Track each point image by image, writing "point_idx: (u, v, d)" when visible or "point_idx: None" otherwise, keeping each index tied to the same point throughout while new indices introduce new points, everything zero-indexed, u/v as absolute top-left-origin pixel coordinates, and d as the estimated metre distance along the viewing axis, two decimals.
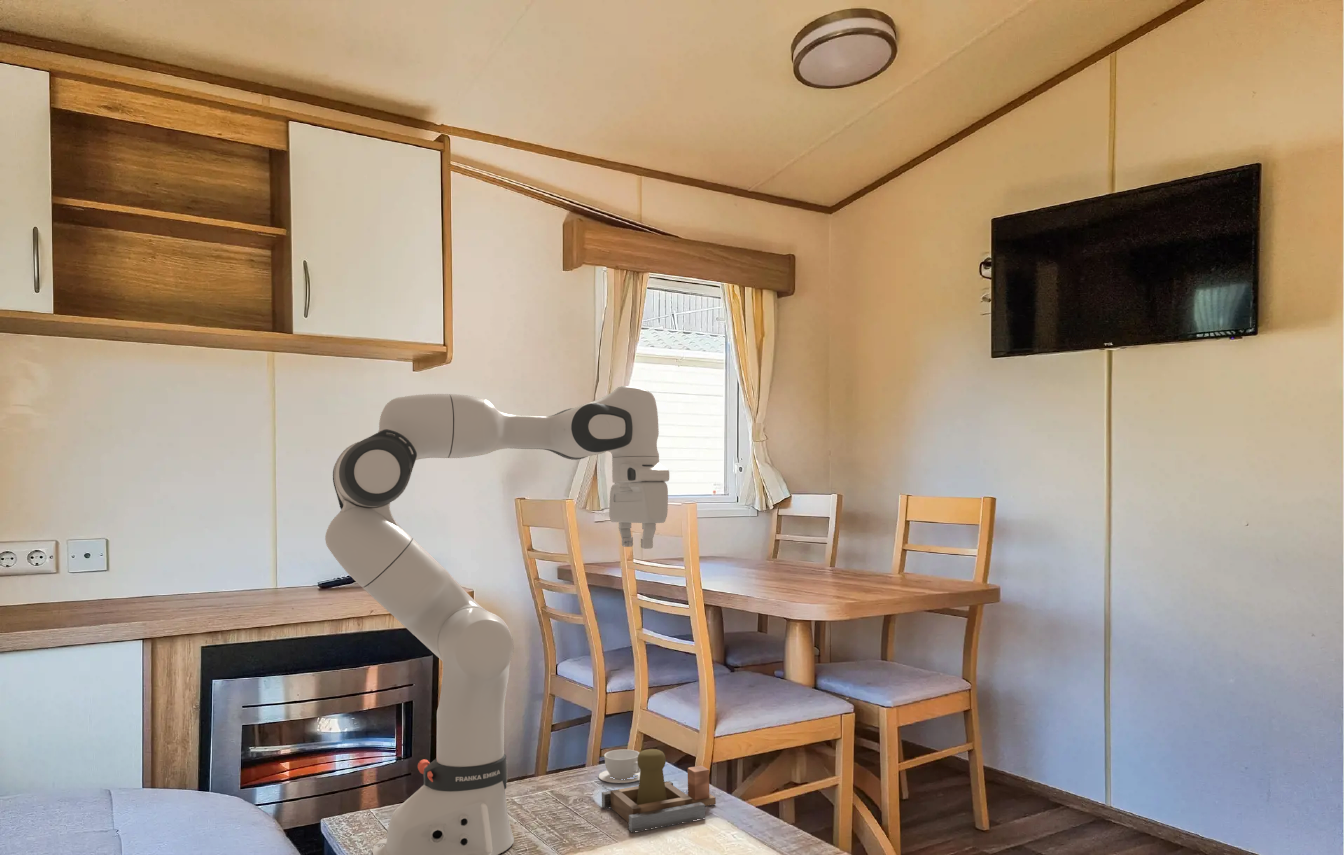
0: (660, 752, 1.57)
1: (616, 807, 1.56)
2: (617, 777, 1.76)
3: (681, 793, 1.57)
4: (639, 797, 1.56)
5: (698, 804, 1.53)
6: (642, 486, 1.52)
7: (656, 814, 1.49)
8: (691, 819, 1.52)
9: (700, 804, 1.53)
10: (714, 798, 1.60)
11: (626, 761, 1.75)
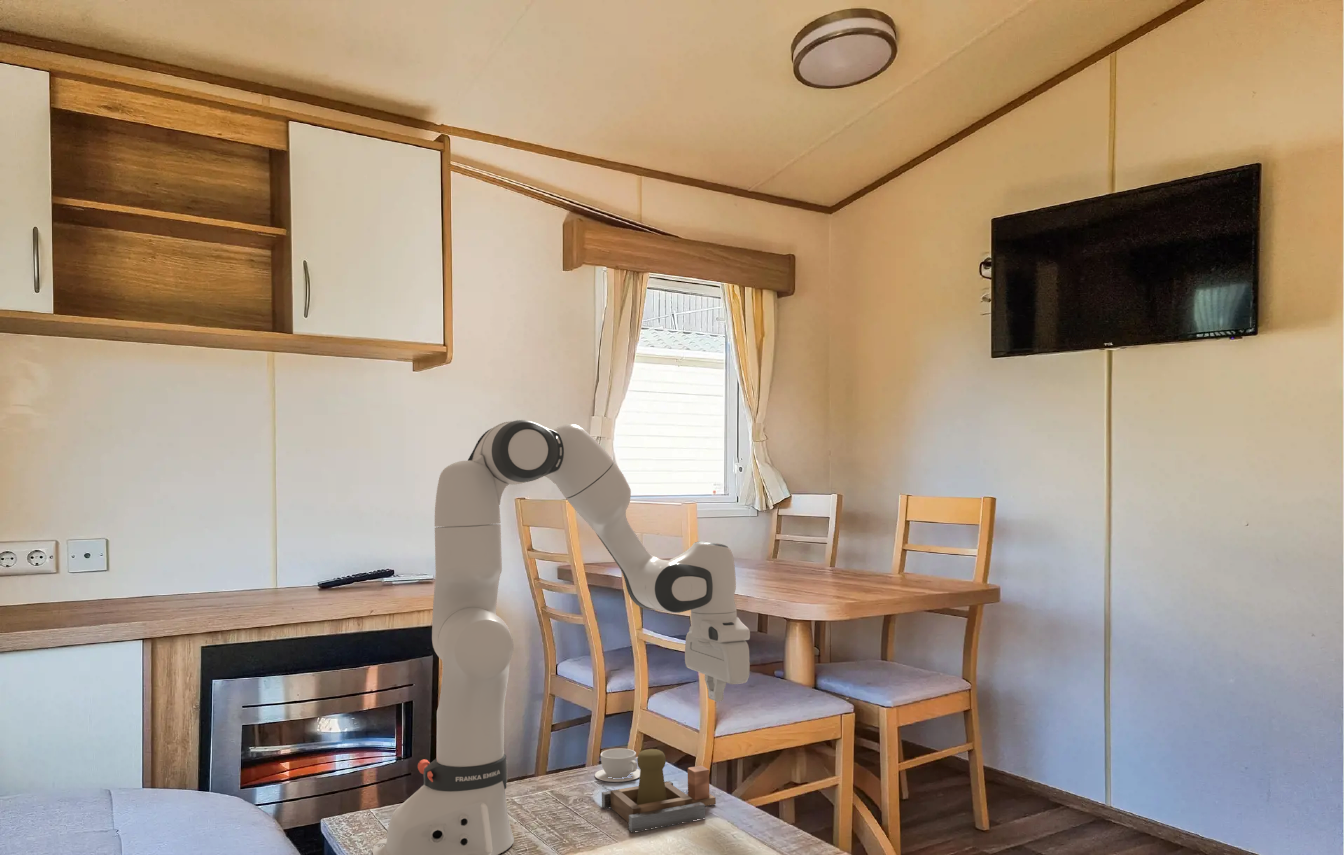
0: (660, 752, 1.57)
1: (616, 807, 1.56)
2: (613, 776, 1.77)
3: (681, 793, 1.57)
4: (639, 797, 1.56)
5: (698, 804, 1.53)
6: (724, 647, 1.56)
7: (656, 814, 1.49)
8: (691, 819, 1.52)
9: (700, 804, 1.53)
10: (714, 798, 1.60)
11: (622, 760, 1.76)
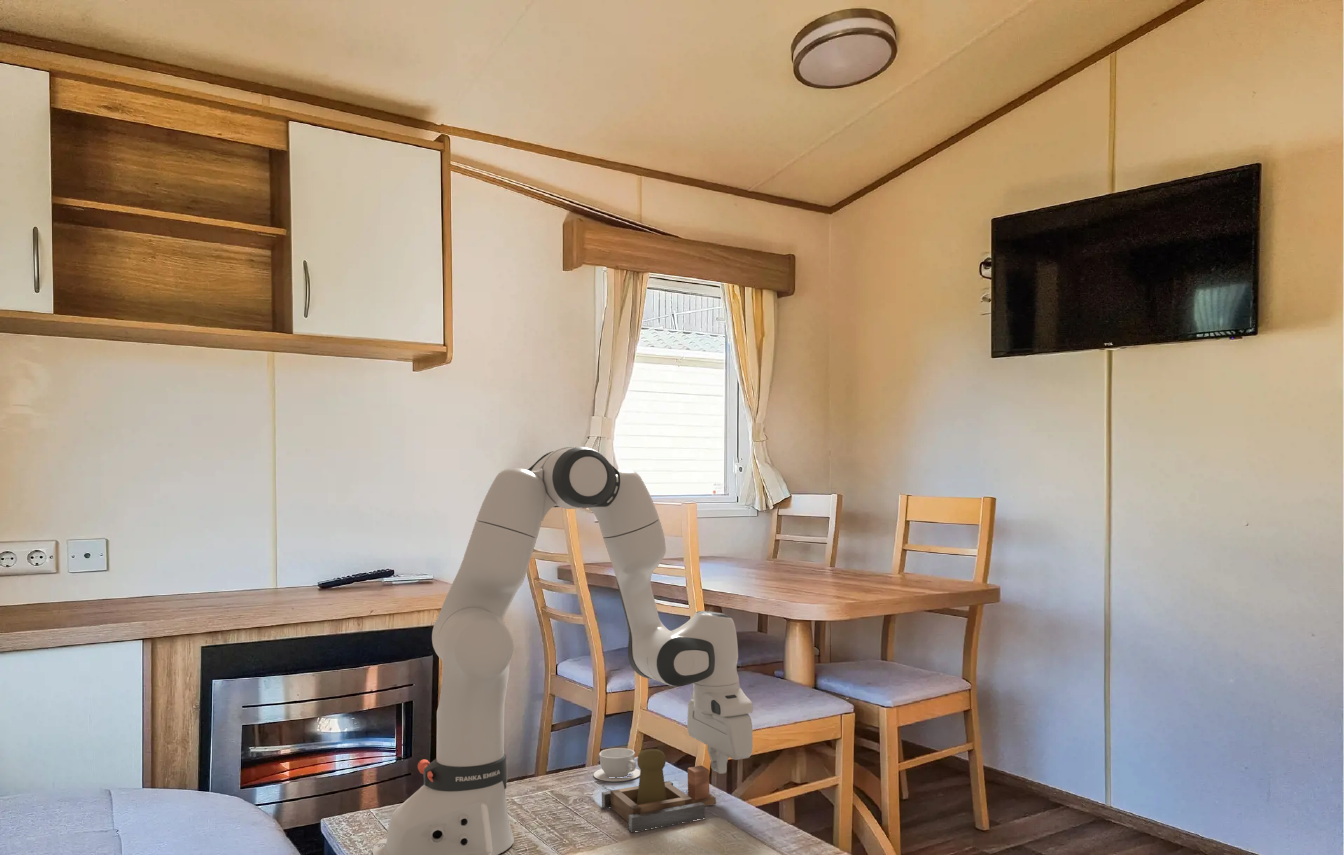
0: (660, 752, 1.57)
1: (616, 807, 1.56)
2: (612, 775, 1.77)
3: (681, 793, 1.57)
4: (639, 797, 1.56)
5: (698, 804, 1.53)
6: (727, 722, 1.55)
7: (656, 814, 1.49)
8: (691, 819, 1.52)
9: (700, 804, 1.53)
10: (714, 798, 1.60)
11: (621, 760, 1.76)
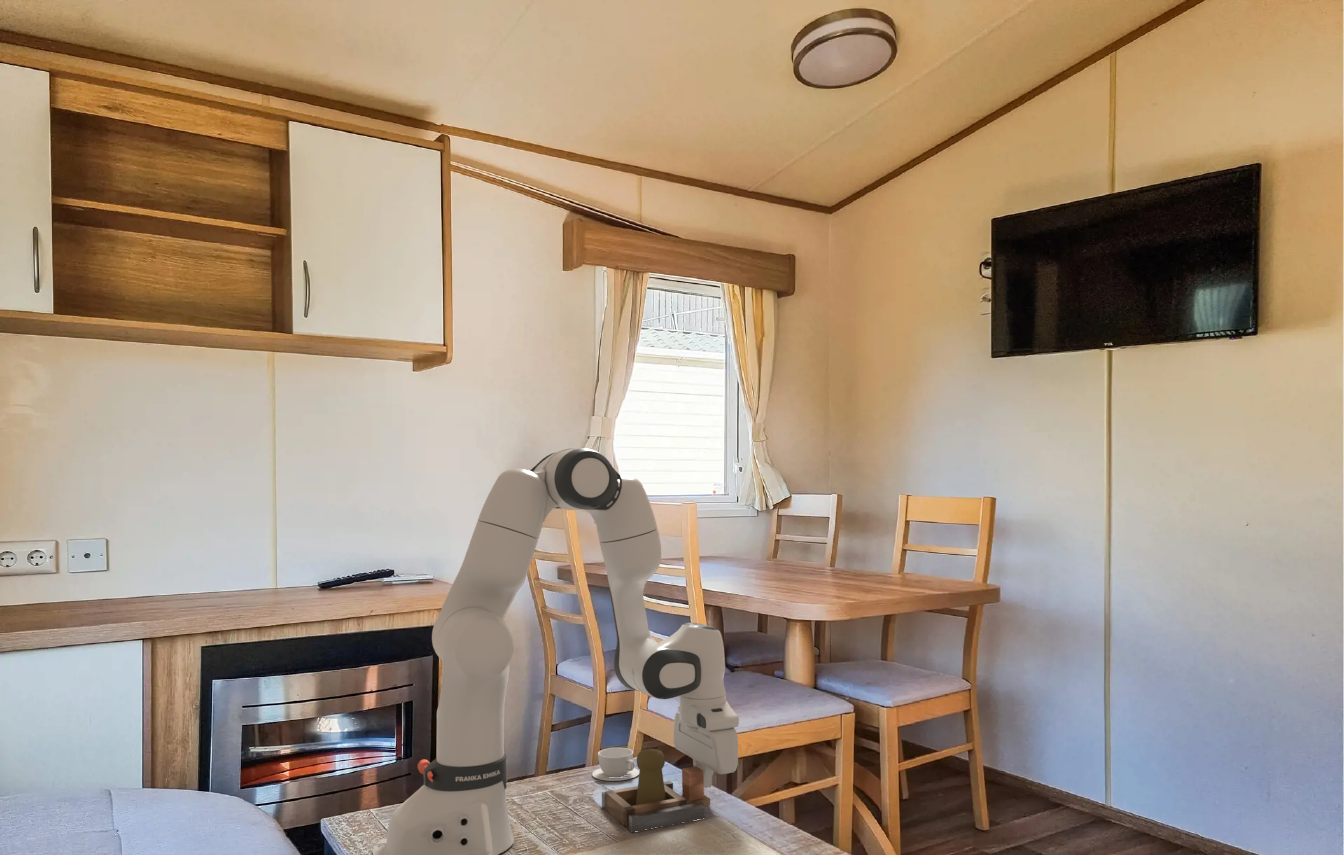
0: (659, 752, 1.57)
1: (610, 808, 1.56)
2: (610, 775, 1.77)
3: (675, 794, 1.57)
4: (638, 797, 1.56)
5: (698, 804, 1.53)
6: (712, 736, 1.54)
7: (656, 814, 1.49)
8: (691, 819, 1.52)
9: (700, 804, 1.53)
10: (709, 799, 1.60)
11: (619, 759, 1.77)
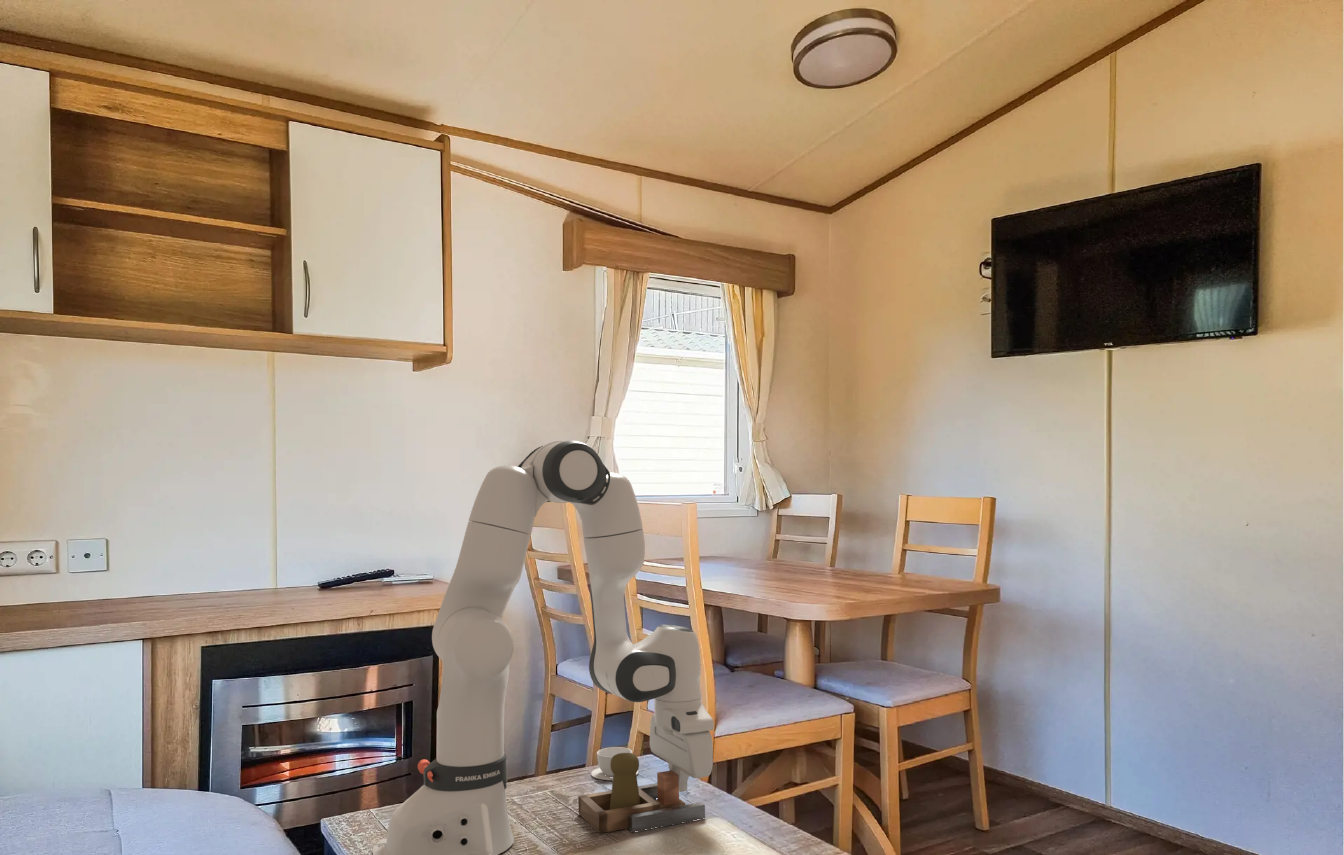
0: (634, 756, 1.55)
1: (584, 812, 1.54)
2: (609, 774, 1.78)
3: (650, 798, 1.55)
4: (612, 801, 1.54)
5: (698, 804, 1.53)
6: (687, 740, 1.52)
7: (656, 814, 1.49)
8: (691, 819, 1.52)
9: (700, 804, 1.53)
10: (684, 803, 1.57)
11: None
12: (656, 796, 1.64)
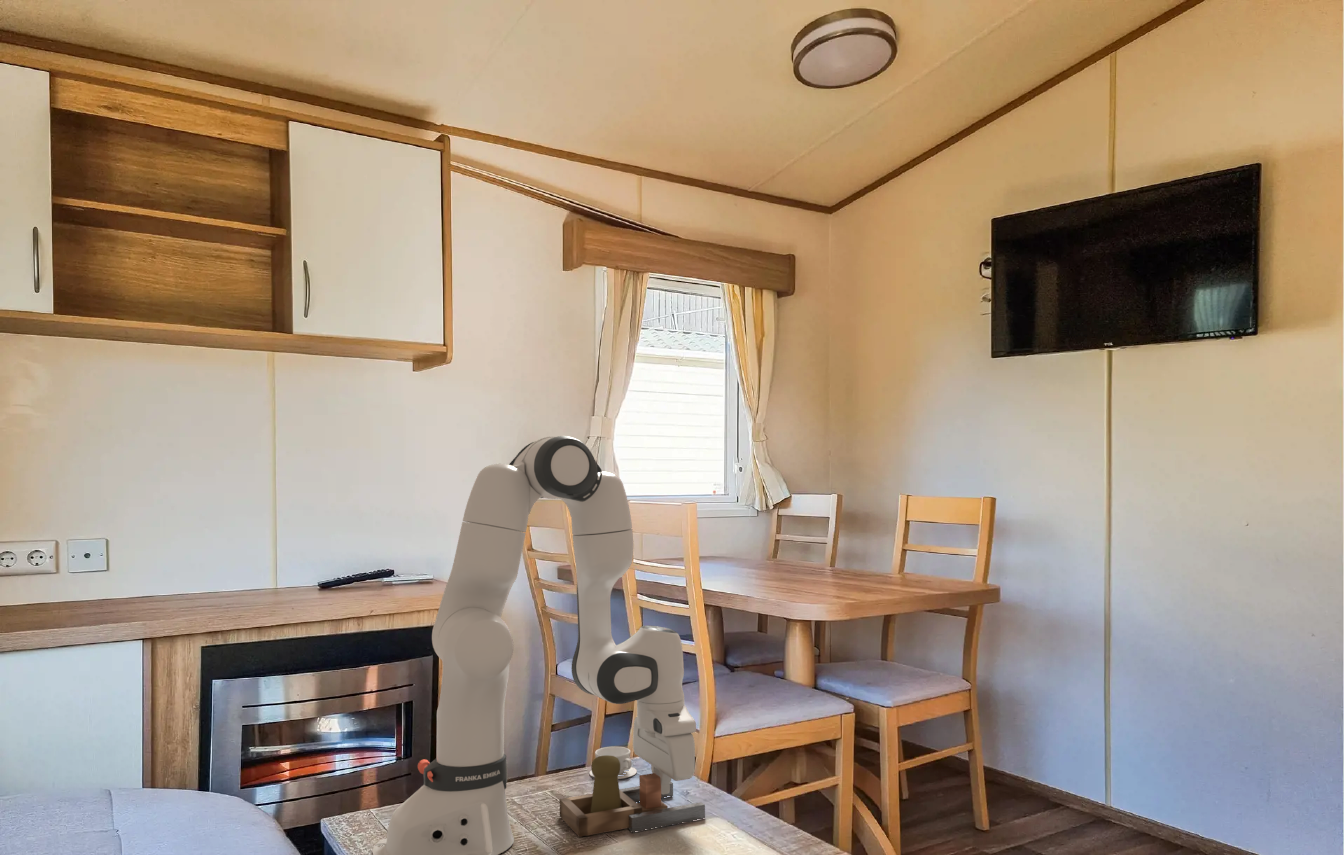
0: (615, 758, 1.54)
1: (565, 816, 1.52)
2: None
3: (631, 802, 1.53)
4: (592, 804, 1.52)
5: (698, 804, 1.53)
6: (668, 742, 1.50)
7: (656, 814, 1.49)
8: (691, 819, 1.52)
9: (700, 804, 1.53)
10: (666, 807, 1.56)
11: None
12: None
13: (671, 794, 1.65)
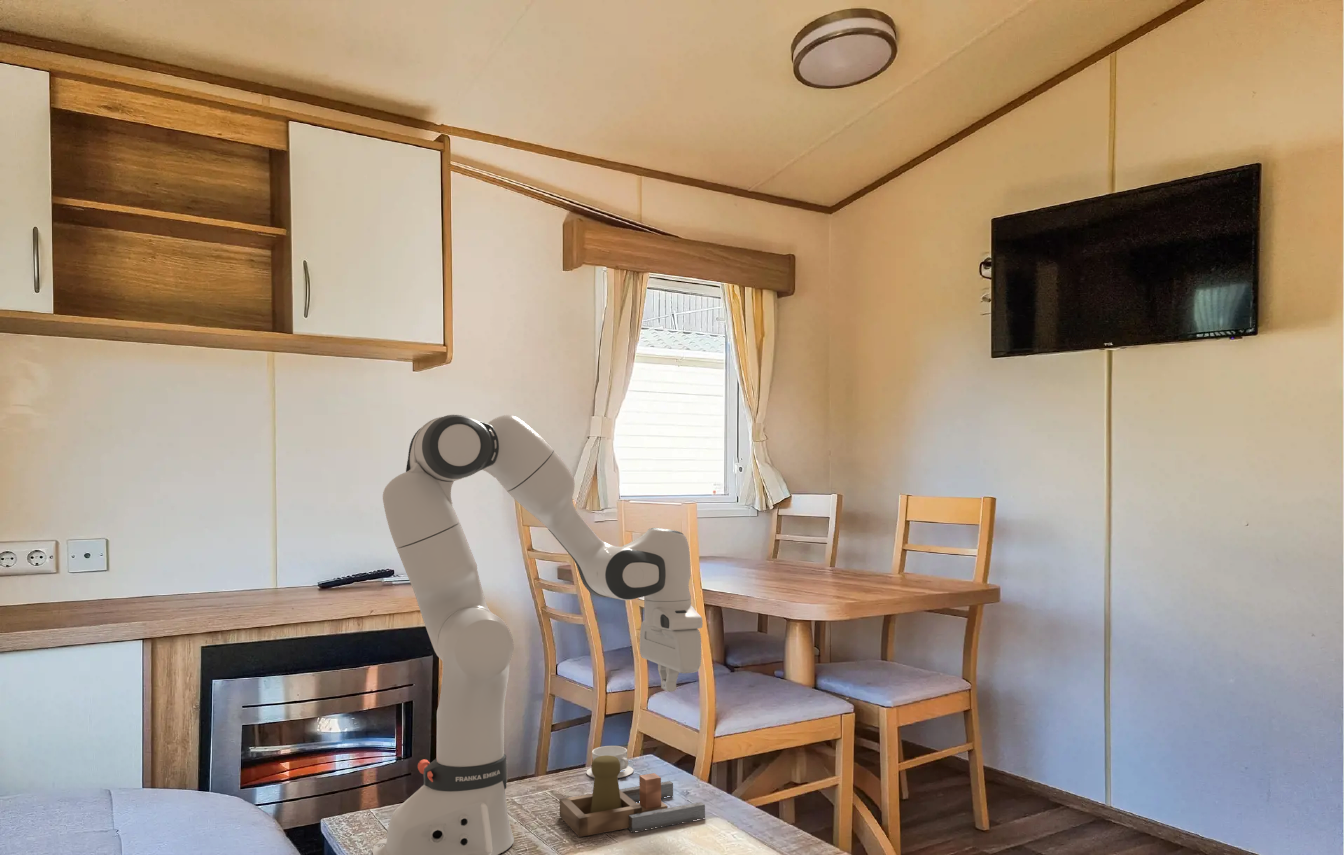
0: (615, 758, 1.54)
1: (565, 816, 1.52)
2: None
3: (631, 802, 1.53)
4: (592, 805, 1.52)
5: (698, 804, 1.53)
6: (675, 635, 1.53)
7: (656, 814, 1.49)
8: (691, 819, 1.52)
9: (700, 804, 1.53)
10: (666, 807, 1.56)
11: None
12: None
13: (671, 794, 1.65)
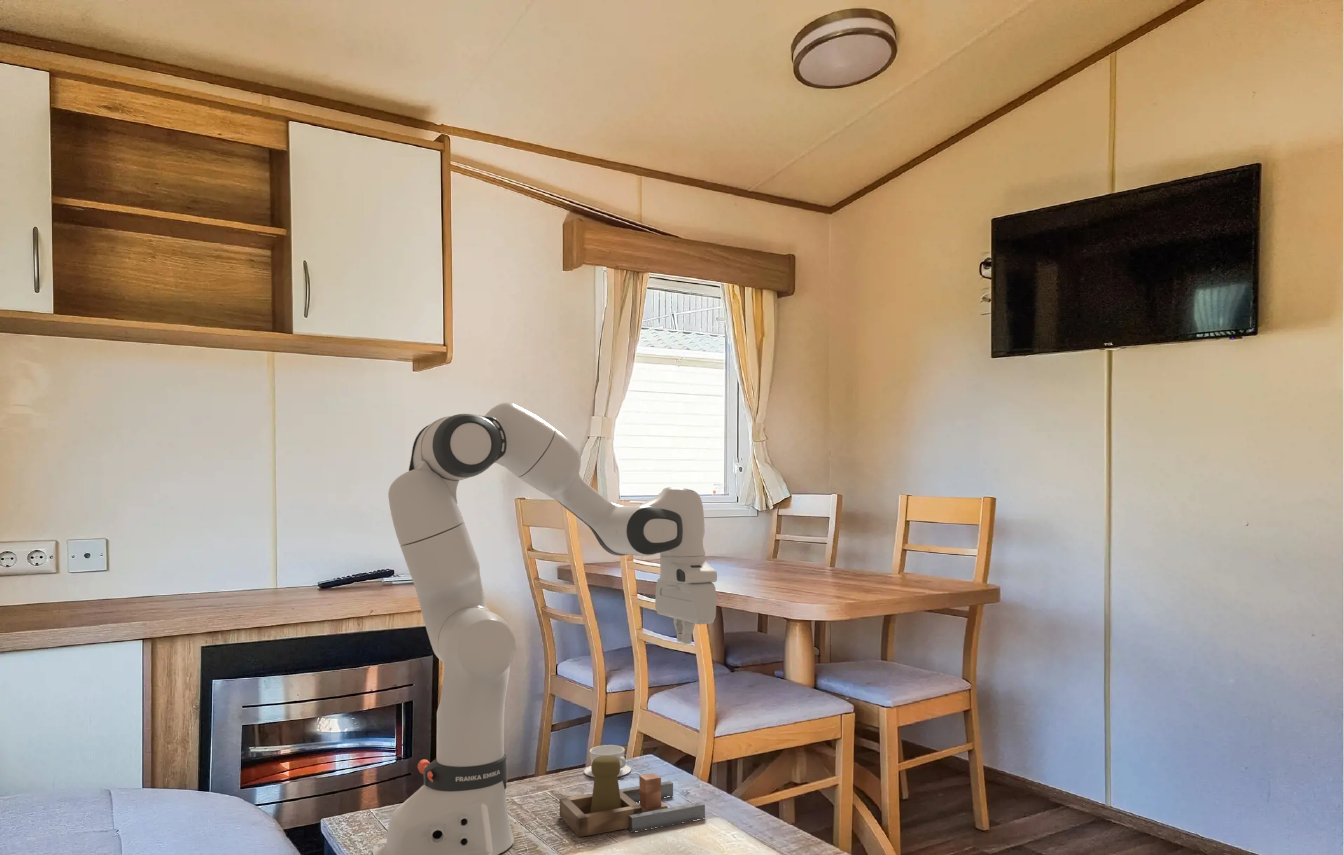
0: (615, 758, 1.54)
1: (565, 816, 1.52)
2: None
3: (631, 802, 1.53)
4: (592, 805, 1.52)
5: (698, 804, 1.53)
6: (691, 588, 1.59)
7: (656, 814, 1.49)
8: (691, 819, 1.52)
9: (700, 804, 1.53)
10: (666, 807, 1.56)
11: None
12: None
13: (671, 794, 1.65)
